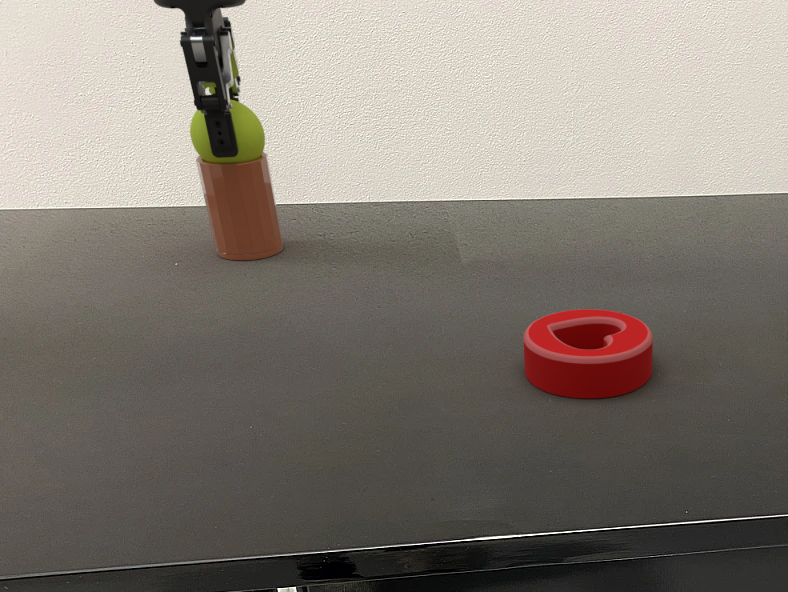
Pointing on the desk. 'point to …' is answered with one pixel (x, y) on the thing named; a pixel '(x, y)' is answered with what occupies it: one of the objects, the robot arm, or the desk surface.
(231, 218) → the cup
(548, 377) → the decorative ornament
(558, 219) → the desk surface
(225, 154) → the robot arm
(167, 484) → the desk surface
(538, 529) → the desk surface
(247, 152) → the ball
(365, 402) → the desk surface
